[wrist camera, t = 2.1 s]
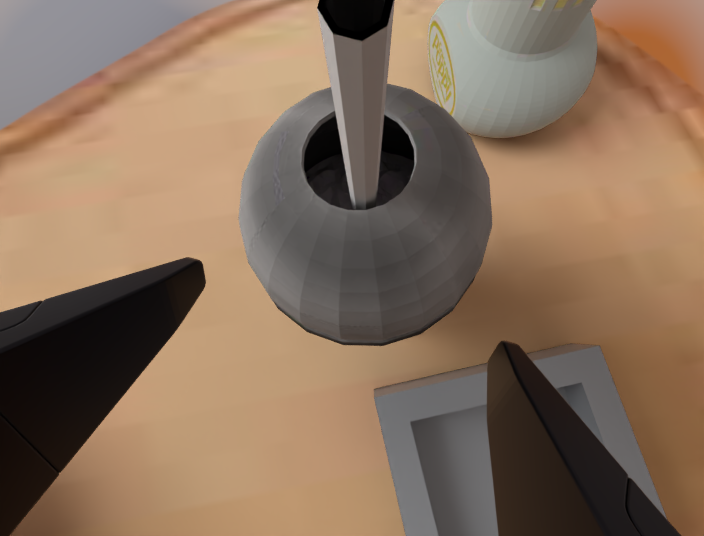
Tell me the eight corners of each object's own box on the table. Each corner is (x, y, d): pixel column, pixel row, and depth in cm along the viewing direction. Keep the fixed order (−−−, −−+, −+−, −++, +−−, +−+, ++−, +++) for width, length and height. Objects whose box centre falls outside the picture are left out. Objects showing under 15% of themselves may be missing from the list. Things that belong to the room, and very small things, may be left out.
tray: (657, 578, 17) (706, 621, 14) (428, 627, 17) (438, 677, 14) (570, 343, 19) (599, 345, 17) (373, 389, 19) (374, 397, 17)
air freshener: (417, 43, 24) (446, -149, 15) (521, 22, 24) (622, -188, 14) (449, 167, 22) (509, 37, 12) (564, 145, 22) (720, -5, 12)
